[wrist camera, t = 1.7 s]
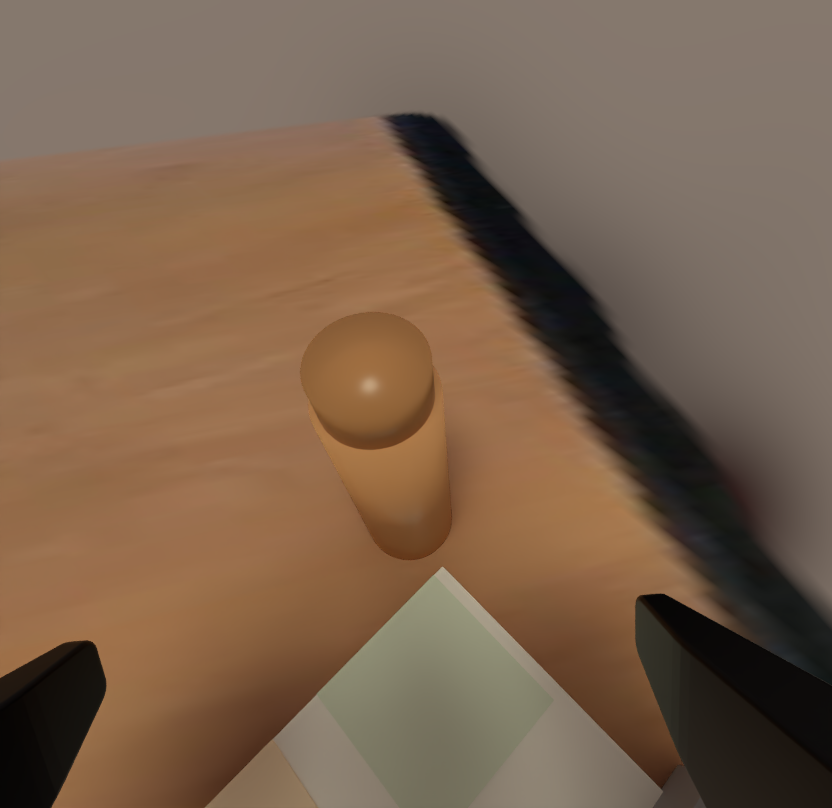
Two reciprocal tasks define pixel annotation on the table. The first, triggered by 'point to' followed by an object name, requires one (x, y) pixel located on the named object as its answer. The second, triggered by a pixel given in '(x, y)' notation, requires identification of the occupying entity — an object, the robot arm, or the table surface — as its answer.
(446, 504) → the tan cylindrical piece
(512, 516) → the table surface
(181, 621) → the table surface
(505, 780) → the sheet
